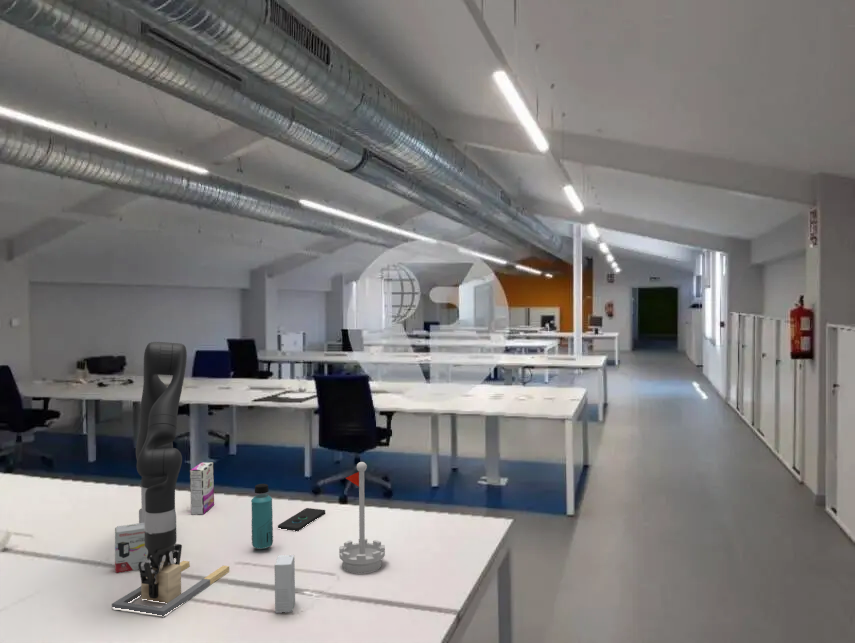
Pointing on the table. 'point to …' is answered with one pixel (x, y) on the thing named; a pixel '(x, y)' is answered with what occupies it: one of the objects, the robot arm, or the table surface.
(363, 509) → the flag stand
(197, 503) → the candy bar box
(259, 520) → the beverage bottle
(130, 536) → the ink box
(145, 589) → the wooden block
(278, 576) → the skincare box
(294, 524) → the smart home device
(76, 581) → the table surface
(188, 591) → the rail bay
